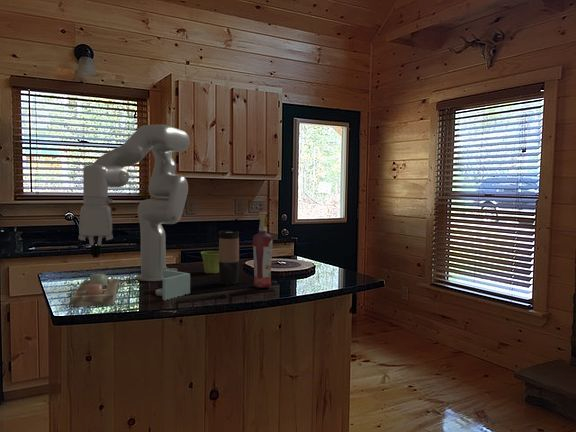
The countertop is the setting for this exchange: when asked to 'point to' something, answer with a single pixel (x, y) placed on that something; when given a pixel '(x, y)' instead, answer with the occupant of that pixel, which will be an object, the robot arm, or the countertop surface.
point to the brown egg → (94, 289)
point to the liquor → (262, 254)
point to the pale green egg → (98, 279)
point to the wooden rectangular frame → (93, 300)
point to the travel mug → (228, 257)
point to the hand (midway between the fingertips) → (96, 256)
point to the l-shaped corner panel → (174, 284)
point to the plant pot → (211, 261)
